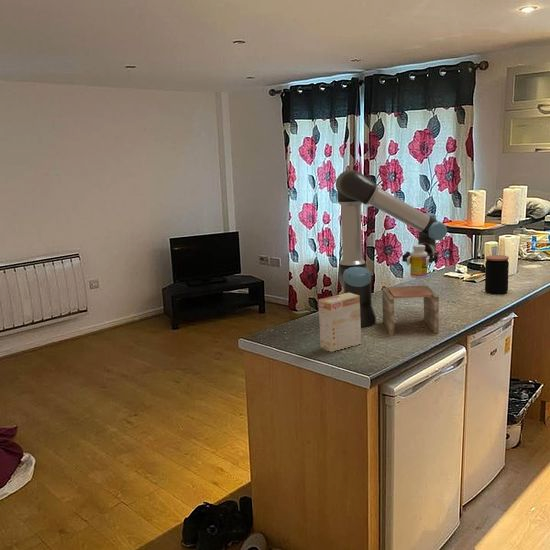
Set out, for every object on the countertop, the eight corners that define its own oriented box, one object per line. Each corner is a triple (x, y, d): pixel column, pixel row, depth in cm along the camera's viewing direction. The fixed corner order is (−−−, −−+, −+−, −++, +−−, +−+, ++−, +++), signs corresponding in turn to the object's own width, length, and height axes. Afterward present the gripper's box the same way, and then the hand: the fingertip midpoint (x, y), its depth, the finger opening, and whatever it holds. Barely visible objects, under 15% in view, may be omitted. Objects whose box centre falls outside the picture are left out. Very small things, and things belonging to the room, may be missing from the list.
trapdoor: (393, 298, 220) (393, 296, 220) (387, 289, 235) (387, 287, 235) (431, 296, 219) (431, 294, 219) (423, 287, 234) (423, 285, 234)
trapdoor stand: (390, 335, 220) (389, 299, 217) (382, 321, 239) (382, 287, 236) (438, 333, 219) (438, 296, 216) (427, 319, 238) (427, 285, 235)
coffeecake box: (350, 340, 218) (348, 292, 214) (362, 344, 212) (360, 295, 208) (319, 348, 210) (317, 299, 206) (331, 353, 204) (329, 302, 200)
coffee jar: (512, 292, 274) (513, 256, 271) (499, 296, 269) (500, 259, 265) (493, 288, 283) (494, 254, 279) (480, 292, 277) (481, 257, 274)
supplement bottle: (422, 279, 219) (422, 247, 216) (407, 277, 223) (407, 246, 221) (430, 276, 224) (430, 244, 221) (415, 274, 228) (415, 243, 225)
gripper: (447, 261, 236) (443, 272, 215) (401, 260, 243) (392, 270, 222) (448, 244, 234) (443, 253, 213) (401, 243, 241) (392, 252, 220)
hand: (417, 262), depth 218 cm, fingers closed on supplement bottle, 7 cm apart
